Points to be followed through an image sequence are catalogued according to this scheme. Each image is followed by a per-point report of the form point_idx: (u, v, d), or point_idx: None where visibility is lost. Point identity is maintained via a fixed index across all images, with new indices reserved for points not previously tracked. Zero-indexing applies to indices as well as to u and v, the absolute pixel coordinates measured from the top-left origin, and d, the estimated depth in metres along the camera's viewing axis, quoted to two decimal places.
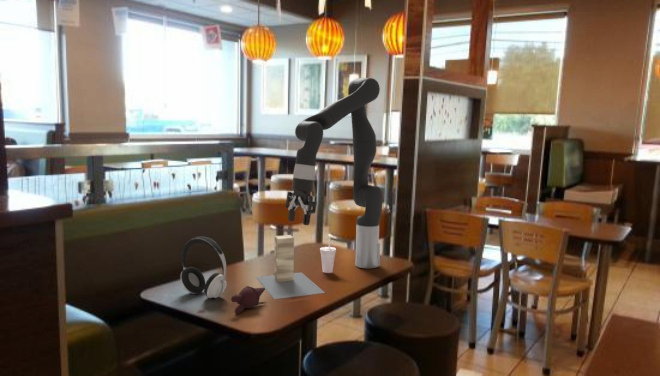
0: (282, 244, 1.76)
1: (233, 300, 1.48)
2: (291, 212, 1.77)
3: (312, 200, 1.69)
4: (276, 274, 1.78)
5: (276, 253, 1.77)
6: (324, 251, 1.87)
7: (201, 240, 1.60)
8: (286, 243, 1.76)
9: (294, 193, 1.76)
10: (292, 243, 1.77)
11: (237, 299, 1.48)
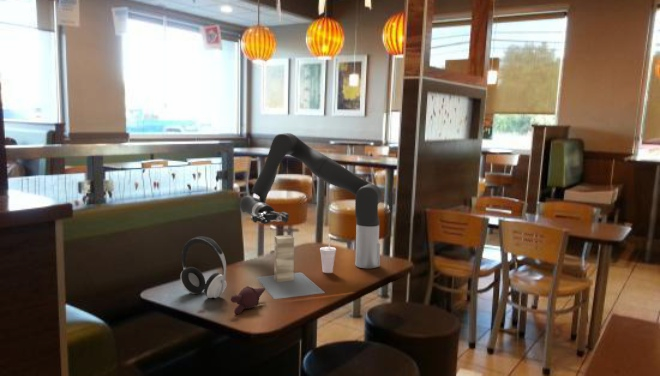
0: (282, 244, 1.76)
1: (233, 300, 1.48)
2: (282, 220, 1.91)
3: (251, 218, 1.92)
4: (276, 274, 1.78)
5: (276, 253, 1.77)
6: (324, 251, 1.87)
7: (201, 240, 1.60)
8: (286, 243, 1.76)
9: None
10: (292, 243, 1.77)
11: (237, 299, 1.48)
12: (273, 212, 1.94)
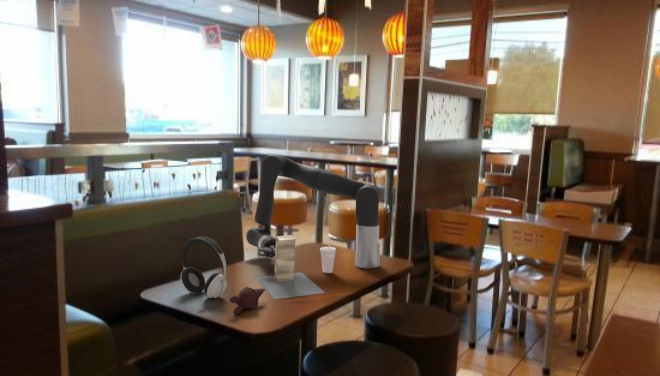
0: (283, 245, 1.74)
1: (232, 301, 1.47)
2: None
3: (262, 254, 1.85)
4: (276, 274, 1.78)
5: (277, 254, 1.76)
6: (324, 251, 1.87)
7: (201, 240, 1.60)
8: (288, 244, 1.75)
9: None
10: (294, 244, 1.76)
11: (236, 300, 1.48)
12: None
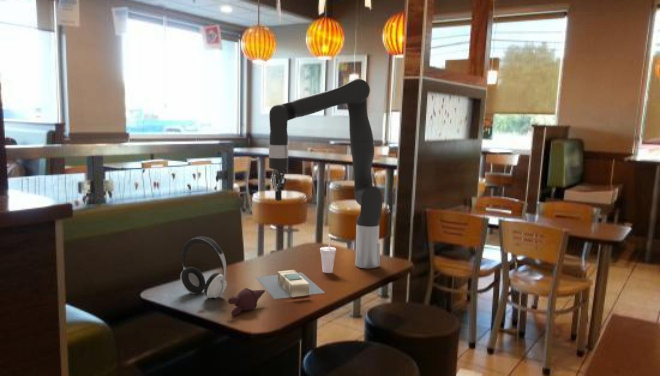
0: None
1: (230, 302, 1.46)
2: None
3: (281, 182, 1.88)
4: (279, 280, 1.74)
5: (286, 286, 1.67)
6: (324, 251, 1.87)
7: (201, 240, 1.60)
8: None
9: (273, 171, 1.95)
10: None
11: (234, 301, 1.47)
12: None
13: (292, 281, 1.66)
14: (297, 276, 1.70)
